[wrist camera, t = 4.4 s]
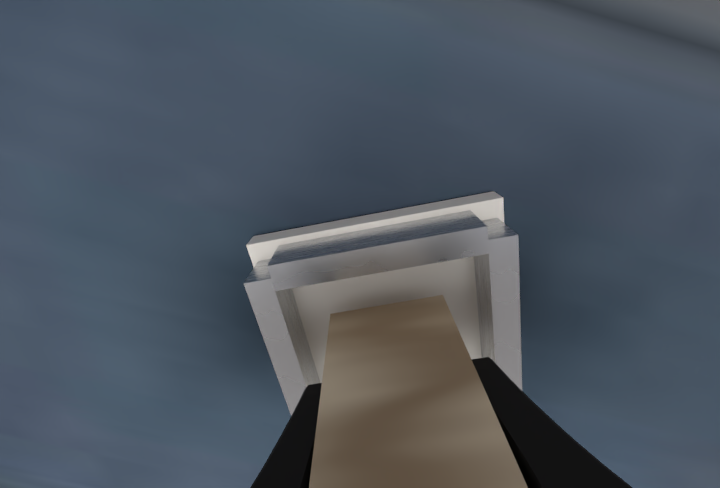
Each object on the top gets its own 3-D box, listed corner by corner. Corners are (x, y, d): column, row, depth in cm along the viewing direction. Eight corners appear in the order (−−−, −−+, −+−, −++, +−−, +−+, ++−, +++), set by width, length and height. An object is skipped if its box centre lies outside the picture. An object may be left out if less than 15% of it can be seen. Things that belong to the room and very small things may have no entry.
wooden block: (442, 294, 11) (579, 602, 4) (453, 381, 12) (568, 719, 5) (330, 313, 11) (290, 634, 4) (352, 397, 12) (347, 738, 6)
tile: (493, 191, 11) (503, 197, 10) (503, 382, 14) (510, 397, 13) (253, 236, 12) (245, 245, 11) (310, 411, 15) (308, 427, 14)
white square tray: (496, 205, 10) (517, 220, 9) (505, 394, 13) (523, 428, 12) (254, 250, 11) (239, 270, 10) (312, 423, 14) (306, 459, 12)
